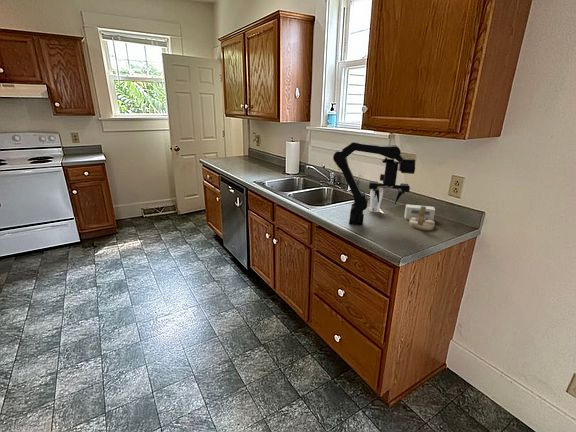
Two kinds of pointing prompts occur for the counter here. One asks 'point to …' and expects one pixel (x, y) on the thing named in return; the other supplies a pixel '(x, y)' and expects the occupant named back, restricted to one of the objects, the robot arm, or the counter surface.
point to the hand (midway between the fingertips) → (386, 203)
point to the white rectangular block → (415, 210)
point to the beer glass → (375, 201)
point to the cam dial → (421, 221)
